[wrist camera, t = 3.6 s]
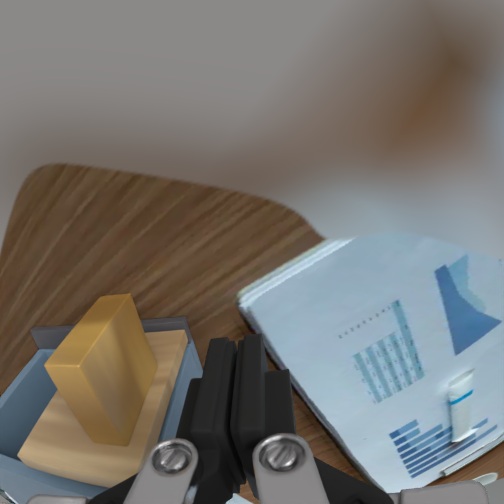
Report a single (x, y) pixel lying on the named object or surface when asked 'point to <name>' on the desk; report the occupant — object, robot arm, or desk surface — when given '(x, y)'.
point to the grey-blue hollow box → (40, 394)
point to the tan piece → (105, 396)
